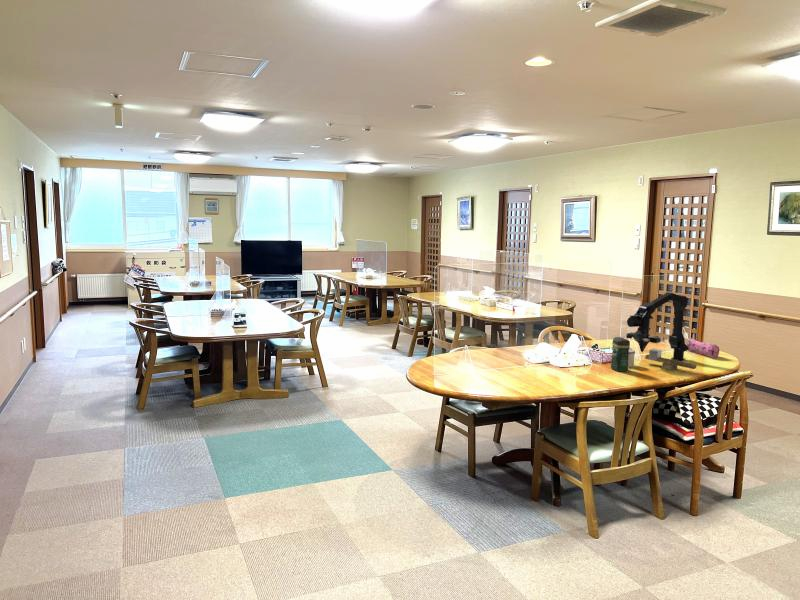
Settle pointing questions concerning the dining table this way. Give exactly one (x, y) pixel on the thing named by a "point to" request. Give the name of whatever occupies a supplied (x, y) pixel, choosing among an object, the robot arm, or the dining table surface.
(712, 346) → the pencil case
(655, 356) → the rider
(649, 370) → the dining table surface
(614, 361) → the coffee jar
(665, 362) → the beam
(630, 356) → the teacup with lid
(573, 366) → the dining table surface
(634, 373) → the dining table surface
